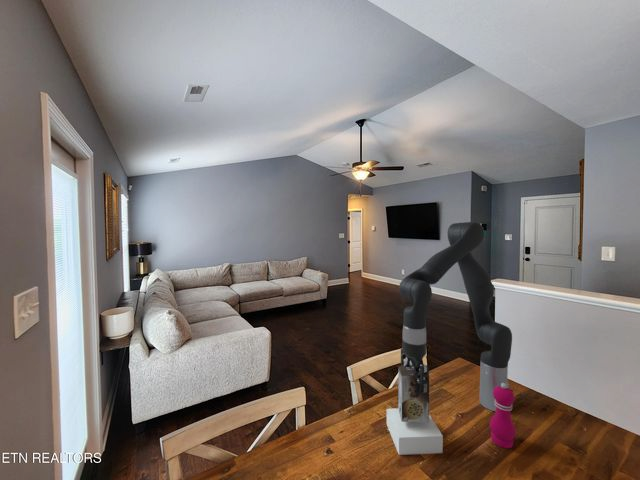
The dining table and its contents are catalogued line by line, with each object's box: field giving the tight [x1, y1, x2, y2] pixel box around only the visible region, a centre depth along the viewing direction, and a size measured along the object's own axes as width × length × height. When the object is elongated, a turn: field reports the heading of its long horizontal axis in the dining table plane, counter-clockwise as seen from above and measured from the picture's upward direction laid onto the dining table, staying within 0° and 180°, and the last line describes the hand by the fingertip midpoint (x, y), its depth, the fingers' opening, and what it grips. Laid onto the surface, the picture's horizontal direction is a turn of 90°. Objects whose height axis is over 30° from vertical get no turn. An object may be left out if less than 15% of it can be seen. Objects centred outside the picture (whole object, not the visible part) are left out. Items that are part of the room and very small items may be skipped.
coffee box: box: [397, 365, 430, 423], centre depth 97 cm, size 9×6×16 cm
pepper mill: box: [489, 383, 516, 449], centre depth 96 cm, size 7×7×20 cm
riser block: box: [386, 407, 444, 456], centre depth 98 cm, size 14×14×6 cm
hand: (413, 386), depth 97 cm, fingers closed on coffee box, 7 cm apart
